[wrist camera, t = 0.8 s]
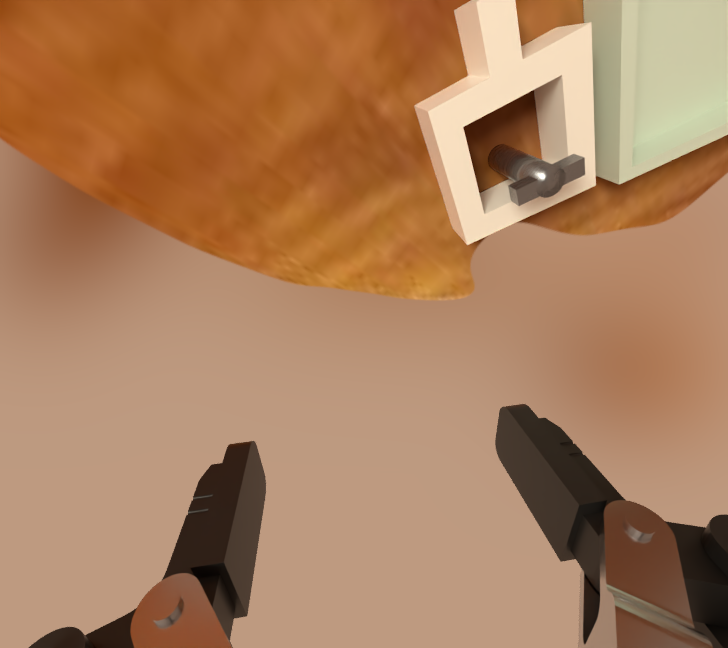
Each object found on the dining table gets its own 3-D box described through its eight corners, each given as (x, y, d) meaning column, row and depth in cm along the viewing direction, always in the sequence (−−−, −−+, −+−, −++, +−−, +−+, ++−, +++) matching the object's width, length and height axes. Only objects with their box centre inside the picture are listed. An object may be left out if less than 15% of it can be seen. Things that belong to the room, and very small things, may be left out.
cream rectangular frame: (394, 45, 24) (407, 42, 21) (549, -47, 22) (589, -65, 19) (452, 227, 33) (467, 245, 30) (567, 173, 31) (595, 185, 28)
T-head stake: (471, 158, 29) (515, 184, 23) (524, 132, 29) (584, 151, 22) (476, 180, 31) (519, 211, 24) (527, 155, 30) (585, 180, 23)
